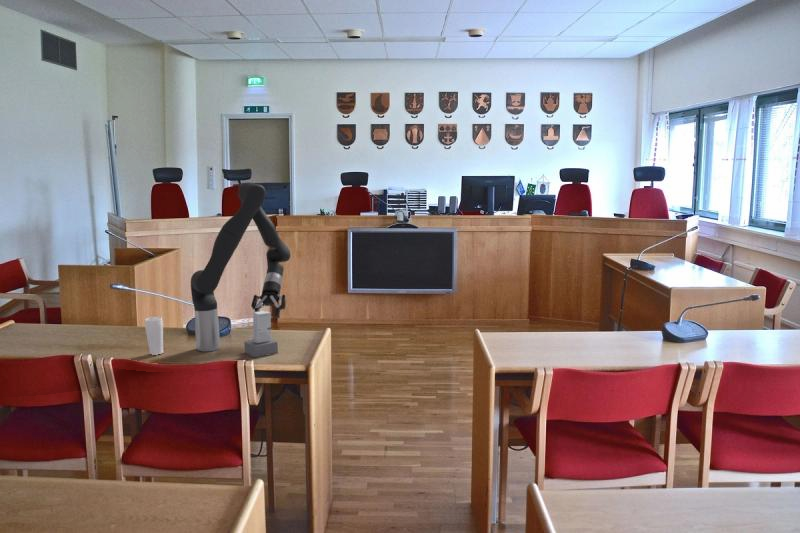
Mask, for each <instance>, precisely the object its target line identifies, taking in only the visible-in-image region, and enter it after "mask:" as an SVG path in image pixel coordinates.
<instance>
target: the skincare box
mask: <svg viewBox="0 0 800 533" xmlns="http://www.w3.org/2000/svg"><path fill="white" fill-rule="evenodd" d="M271 315H272V313H271V312H270V311H268V310H261V311H260V310H259V312H254V311H253V315H252V318H253V320H252V321H253V322H252V328H253V329H252V330H253V333H252V334H253V337H252V338H253V339H252V340H253V341H254V342H256V343H262V342H269V341H271V339H272V338H271V331H272V330H271V329H272V328H271V326H272V325H271V317H272V316H271Z"/></svg>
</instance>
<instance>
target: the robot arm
mask: <svg viewBox="0 0 800 533" xmlns="http://www.w3.org/2000/svg"><path fill="white" fill-rule="evenodd" d="M237 194H238V198H239V199H240V201H241V203H242V204H241V205H240V208H239V209H238V210H237V211H236V213H235V214H234V215H232V217H230V218H229V219H228V220H227V221H226V222H225V223H224V224H223V225H222V227H221V228H220V230H219V232H218V234H217V236H216V237H215V240H214V242H213V247H212V250H211V256H210V259H209V261H207V264H206V266H205V267H204V269H201V270H196V271H195V272H194V273H193V274H192V275H191V279H190V290H191V291H190V293H191V300H192V305H193V309H194V320H195V321H194V322H195V326H194V332H195V333H194V334H195V335H194V336H195V347H196V349H197V351H199V352H214V351H217V350H219V349H220V348H221V339H220V337H221V336H220V327H219V326H220V324H219V313H218V312H219V311H218V310H219V309H218V302H217V299H216V297H215V293H214V292H215V291H216V289H217V287H218V285H219V283H220V281H221V278H222V276H223V273H224V271H225V268H226V267H227V265H228V263H229V262H230V260H231V258H232V257H233V254H234V253H235V251H236V249H237V248H238V246H239V244H240V242H241V241H242V239H243V237H244V235H245V232H246V231H247V229H248V227H249V225H250V224H251V222H252V221H253V222H254V223H255V226H256V228H257V230H258V232H259V234H260V236H261V238H262V241H263V243H264V245H265V246H267V247H271V248H269V249H268V250H267V251H266V262H267V263H266V266H267V269H266V274H265V277H264V281H263V286H262V290H261V295H259V296H258V295H256V294H254V295H253V297H252V300H251V304H250V306H251V308H252V310H253V312H259V311H260V310H261V309H262V308H264V307H273V306H275V312H274V318H276V319H278V318H279V317H280V312H281V310H285V309H286V303H287V296H286V295H285V294H282V295H280V294H281V289H282V284H283V276H284V266H283V265H282V264H281V263H285V262H288V261H289V260H290V258H291V250H290V249H289V247H288V245H287V244H286V243H285V242H284V241H283V239H282V238H281V237H280V235H279V233H278V231H277V229H276V225H274V223H273V221H272V220H271V219H270V217H268V215H267V213H266V212H265V211H264V209H263V208H262V205H263V204H264V202H265V200H266V197H267V191H266V188H265V187H264V186H263V185H261V184H258V183H254V182H243V183H242V184H241V185H240V186H239V187H238V191H237ZM279 301H280V302H281V304H280V305H279V303H278V302H279Z"/></svg>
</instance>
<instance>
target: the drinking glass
mask: <svg viewBox="0 0 800 533" xmlns="http://www.w3.org/2000/svg"><path fill="white" fill-rule="evenodd" d="M144 325H145V335H146V340H147V344H148V352H149V355H150V354H152V355H151V356H153V355H156V356H159V355H158V354H161V355H162V353H164V324H163V318H162V317H161V316H152V317H148V318H145V319H144Z"/></svg>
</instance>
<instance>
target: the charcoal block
mask: <svg viewBox="0 0 800 533" xmlns="http://www.w3.org/2000/svg"><path fill="white" fill-rule="evenodd" d="M243 344H244V353H246V354H247V355H249V356H251V357H253V358H255V357H257V358H260V357H259V356H261V357H264V355H266V356H269V355H268V354H271V355H274V354H273V353H276V354H278V353H279V349H278V341H276V340H274V339H272V338H271V341H269V342H262V343H256V342H254V341H253V339H250V340H245V341H244V343H243Z"/></svg>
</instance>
